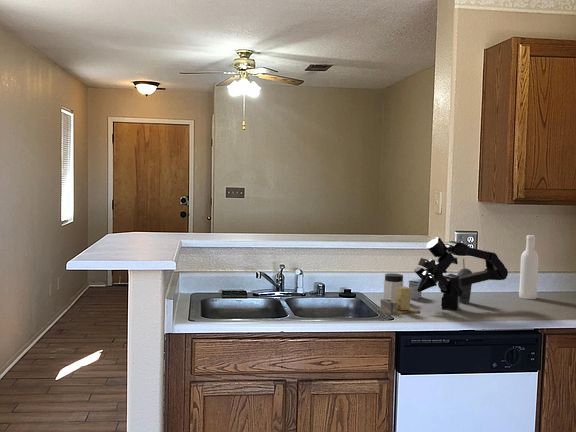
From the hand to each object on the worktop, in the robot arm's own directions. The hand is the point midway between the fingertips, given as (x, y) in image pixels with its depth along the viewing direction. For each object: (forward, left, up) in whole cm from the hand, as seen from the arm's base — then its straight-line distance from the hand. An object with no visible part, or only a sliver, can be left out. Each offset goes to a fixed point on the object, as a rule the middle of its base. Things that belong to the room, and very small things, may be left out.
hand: (418, 291), depth 252 cm
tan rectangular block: (+7, +7, -7) cm, 12 cm away
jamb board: (+6, +6, -8) cm, 12 cm away
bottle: (-40, -56, -8) cm, 69 cm away
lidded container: (+14, -14, -8) cm, 22 cm away
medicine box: (+7, -26, -9) cm, 28 cm away
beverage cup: (-15, -28, -8) cm, 32 cm away
